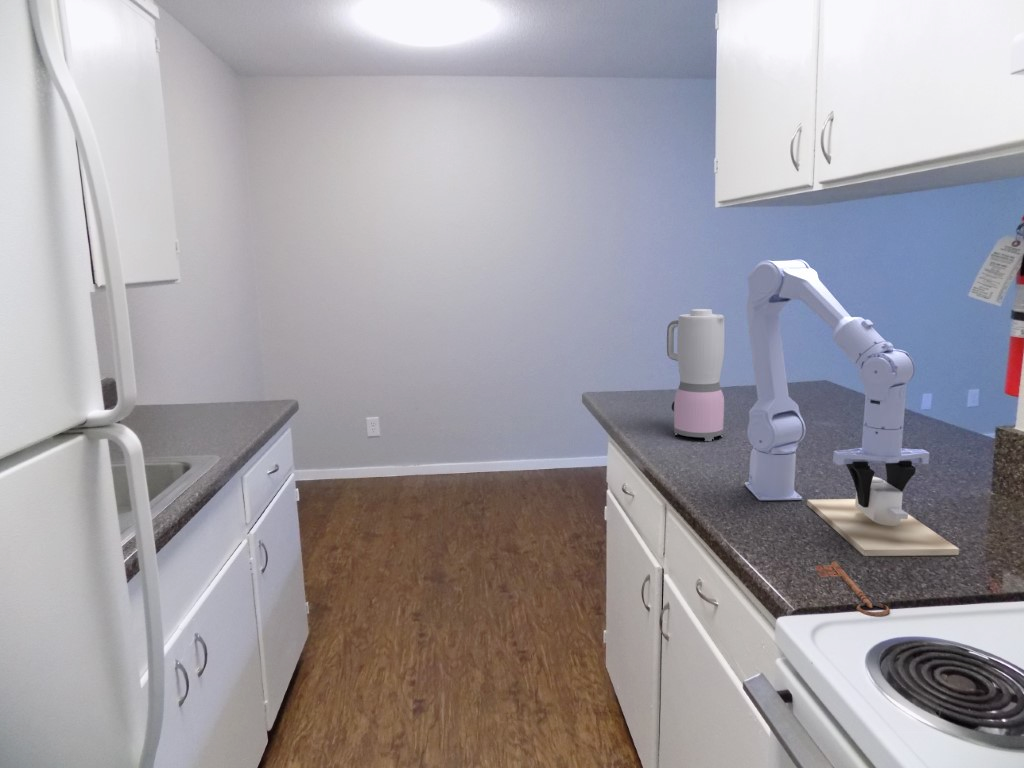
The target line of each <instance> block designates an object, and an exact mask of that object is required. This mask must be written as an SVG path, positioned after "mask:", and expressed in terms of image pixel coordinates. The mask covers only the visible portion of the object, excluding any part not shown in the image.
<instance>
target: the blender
mask: <svg viewBox="0 0 1024 768" xmlns="http://www.w3.org/2000/svg"><path fill="white" fill-rule="evenodd" d="M676 328H677V334H676V338H677V339H676V353H675V346H674V345H675V341H674V340H675V338H674V337H675V335H674V334H675V329H676ZM725 332H726V331H725V316H724V315H723V314H720V313H719V314H717V313H713V309H709V308H696V309H695V308H694V309H690V312H689V313H685V314H680V315H679V316H678V320H672V321H671V322H670V323H669V324H668V325H667V330H666V353H667V354H666V355H667V357H668V358H669V359H670V360H672V361H675V362H677V365H678V373H679V379H680V380H679V384H678V388H677V390H676V392H675V394H674V401H673V402H671V403H672V404H671V410H672V411H673V419H674V421H673V434H674V433H677V435H680V436H685V437H690V438H691V437H692V438H703V439H713V440H714V438H716V437H718V436H719V437H720V435H723V436H724V432H725V428H724V420H725V419H724V418H725V397H724V393H723V391H722V389H721V385H720V379H721V373H722V367H723V363H724V356H725V341H726V340H725V338H726V337H725V334H726V333H725Z"/></svg>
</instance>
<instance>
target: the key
mask: <svg viewBox="0 0 1024 768" xmlns="http://www.w3.org/2000/svg"><path fill="white" fill-rule="evenodd" d="M814 568H815V570H816V571H817V573H818V575H819V576H820V578H842V579H843V581H844V582H845V583H846V584H847V585H848V586H849V588H850V589H851V590H852V591H853V593H854V594H855V595H856V596H857V597H858V598H859V599H860V601H861V602H862V603H860V604H858V605H857V606H856V611H858V612H859V613H861V614H864V615H867V616H870V617H885V616H886V615H888V614H889V613H890V612H891V611H890V610H891V609H890V607H889V606H887V605H885V604H883V603H880V602H874V601H870V599H869V597H867V596H866V594H865V593H864V591H863V590H861V589H860V588H859V586H857V584H856V583H855V582H854V581H853V580H852V579H851V577H850V576H849V574H847V573H846V571H844V569H842V567H841V566H840V565H839V564H838V563H837V561H832V562H831V563H830V564H826V565H814ZM864 606H866V607H868V608H870V609H873V607H878V608H881V609H884V610H882V611H868V610H865V609H863V608H861V607H864Z"/></svg>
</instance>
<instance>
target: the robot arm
mask: <svg viewBox="0 0 1024 768" xmlns="http://www.w3.org/2000/svg"><path fill="white" fill-rule="evenodd" d="M747 283H748V291H749V293H748V296H747V297H748V298H747V300H746V316H747V317H746V318H747V324H748V326H747V327H748V334H749V340H750V347H751V355H752V363H753V364H752V365H753V372H754V380H755V387H756V394H757V395H756V396H757V400H756V402H755V403H754V404H753V406H752V407H751V409H749V412H748V417H749V421H748V425H747V429H746V433H747V438H748V441H749V443H750V444H751V445H752V446H753V448H752V450H751V452H750V456H749V476H748V477H749V479H748V480H749V481H746V482H744V486H745V487H746V488H747V489H748V490H749V491H750V492H751V493H752V495H753V496H754V497H755V498H756V499H757V500H759V501H802V500H803V496H801V495H800V494H799V493H798V492H796V490H795V480H796V479H795V475H796V459H797V449H798V448H799V443H800V442H801V441H802V440H804V438H805V436H806V431H807V430H806V429H807V428H806V424H805V421H804V419H803V417H802V415H801V412H800V408H799V405H798V403H796V401H794V400H793V399H792V398H791V397H790V394H789V387H788V380H787V379H788V378H787V372H786V365H785V356H784V349H783V348H784V347H783V340H782V331H781V325H780V317H779V315H780V313H781V311H782V310H783V309H784V308H785V307H786V305H787V304H788V303H789V302H791V301H792V300H797V301H801V302H803V304H805V305H806V306H807V307H808V308H809V309H810V310H812V312H814V314H816V315H817V316H818V317H819V318H820V319H821V320H822V321H823V322H824V323H825V324H826V325H827V326H829V327H830V328H831V330H832V331H833V336H832V338H833V339H832V340H833V342H834V343H835V344H836V345H837V346H838V347H839V349H840V350H841V351H842V352H843V353H844V354H845V355H846V356H847V357H848V358H849V359H850V360H851V361H852V362H853V363H854V364H855V365H856V366H857V368H858V376H859V378H860V381H861V383H862V384H863V387H864V396H865V398H864V409H863V410H864V412H863V425H862V439H861V442H862V443H861V447H856V448H850V449H843V450H833V457H832V462H833V463H834V464H835V465H837V466H845V465H846V468H847V470H848V471H849V474H850V476H851V479H852V481H853V484H854V488H855V493H856V492H857V497H858V504H860V505H861V506H862V507H868V505H869V498H870V487H871V482H872V479H873V477H875V476H874V475H875V473H876V472H875V470H873V469H871V466H870V465H869V464H885V470H886V471H885V472H886V473H885V474H886V482H887V483H889V484H890V485H892V486H894V487H895V488H897V489H898V490H900V491H901V492H902V493H903V491H904V489H905V487H906V486H907V484H908V483H909V481H910V480H911V479H912V477H914V475H915V474H916V468H917V467H915V466H914V465H913V464H915V463H916V464H917V463H918V464H921V465H928V464H929V461H930V452H928V451H927V450H925V449H920V448H918V449H917V448H915V449H914V448H902V447H903V435H904V423H905V421H904V420H905V412H906V411H905V410H906V401H907V400H906V398H907V397H906V396H907V385H908V383H909V382H911V381H912V380H913V378H914V377H915V374H916V364H915V362H914V359H913V358H912V357H911V355H910V354H909V352H907V351H905V350H903V349H895V348H894V345H893V343H891V342H890V341H887V340H886V339H884V337H883V336H881V335H880V334H879V332H878V331H876V329H875V328H874V327H873V326H874V323H873V322H872V321H871V320H870V319H864V318H863V317H861V316H853V317H852V316H851V315H850V313H848V311H847V310H846V309H845V308H844V307H843V305H841V303H840V302H839V301H838V299H836V298H835V297H834V296H833V294H832V293H831V292H830V291H829V290H828V288H827V287H826V286H825V284H824V283H822V281H821V280H820V279H819V275H818V272H817V271H816V270H815V269H813V268H811V266H810V265H809V263H808V262H807V261H804V260H803V259H800V258H799V259H792V260H773V261H772V260H762V261H761V262H759V263H757V264H756V266H755V267H754V268H753V269H752V271H751V272H750V273H749V275H748V276H747Z"/></svg>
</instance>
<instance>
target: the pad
mask: <svg viewBox="0 0 1024 768" xmlns="http://www.w3.org/2000/svg"><path fill="white" fill-rule="evenodd" d="M806 500H807V501H806V506H808V508H810V509H811V510H812V511H813V512H815V514H817V515H818V516H819V517H820V518H821V519H822V520H823V521H824V522H826V524H828V525H829V526H830V527H831V528H832V529H833V530H835V531H836V533H838V534H839V535H840V536H841V537H842V538H844V540H846V542H848V543H849V544H850V545H851V546H852V547H854V548H855V549H856V550H857V551H858V552H859V553H860V554H861V555H862V556H863V557H902V556H903V557H907V556H908V557H909V556H911V557H912V556H913V557H917V556H920V557H921V556H959V553H960V548H959V547H957V546H956V545H954V544H953V543H951V542H950V541H948V540H947V539H945V538H944V537H943V536H941V535H939V534H938V533H936V532H935V531H934V530H932V529H931V528H929V527H928V526H927V525H925V524H924V523H921V522H920V521H919V520H917V519H916V518H915V517H913V516H912V515H911V514H909V513H908V518H907V519H901V520H900V524H899V525H896V526H888V525H882V524H878V523H876V522H874V521H873V520H871V519H870V518H869V517H868V516H866V515H865V514H864V513H862V512H861V511H860V510H858V509H857V508H856V507H855V501H856V498H833V499H832V498H829V499H826V498H823V499H822V498H821V499H820V498H819V499H806Z"/></svg>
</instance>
